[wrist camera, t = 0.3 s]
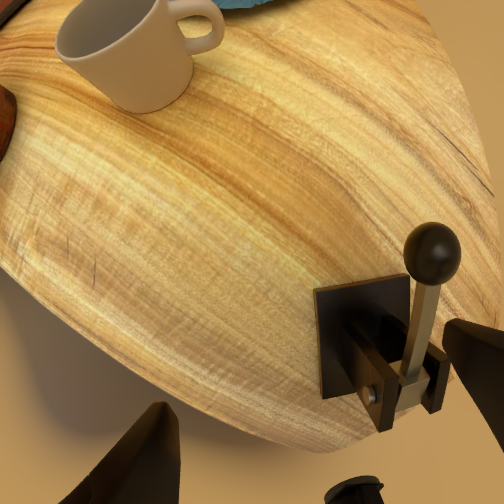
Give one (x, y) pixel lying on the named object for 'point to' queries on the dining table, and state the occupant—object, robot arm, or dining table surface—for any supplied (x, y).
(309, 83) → the dining table surface
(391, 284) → the bracket
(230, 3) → the blue flat round piece
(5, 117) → the food container
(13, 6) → the toaster
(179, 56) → the mug
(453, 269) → the lever
